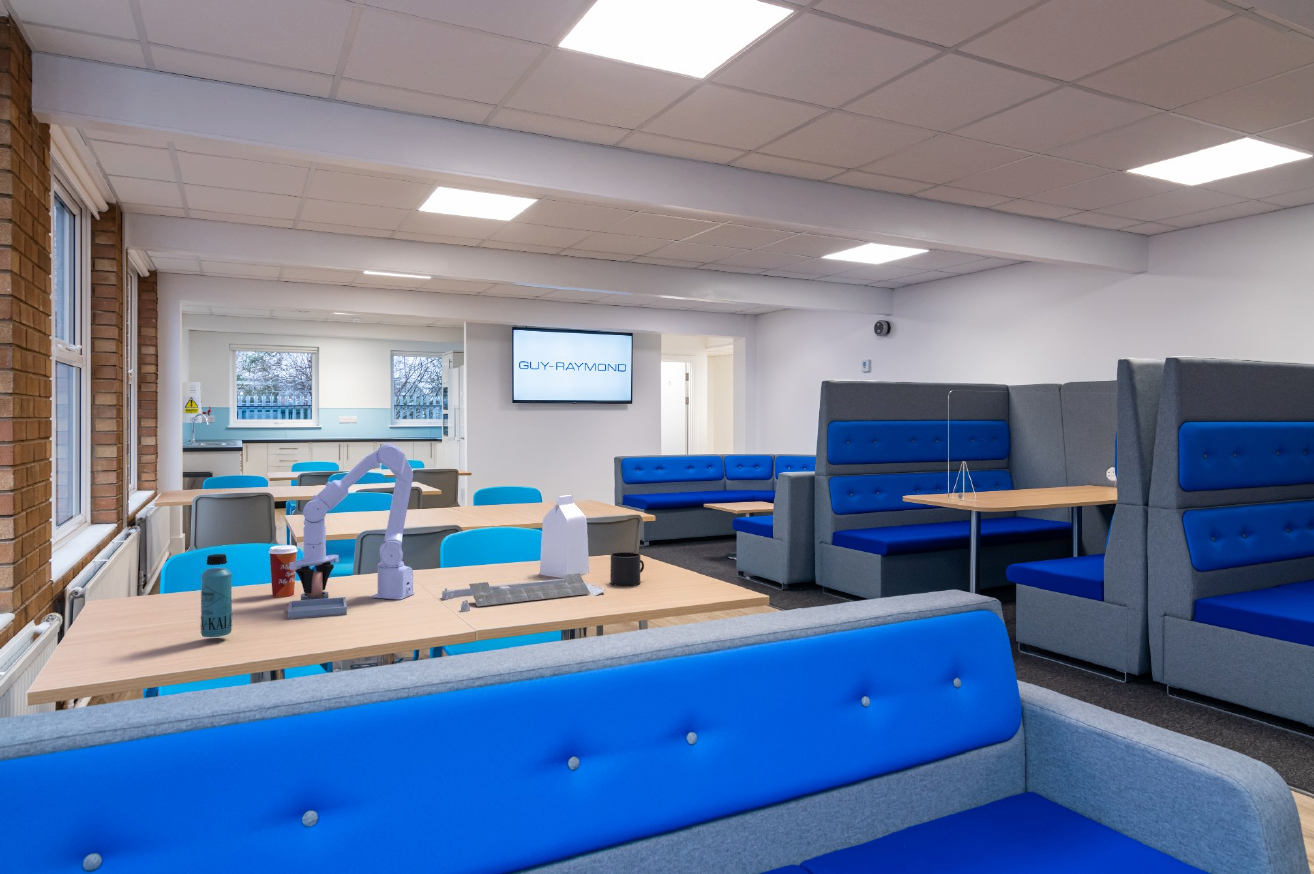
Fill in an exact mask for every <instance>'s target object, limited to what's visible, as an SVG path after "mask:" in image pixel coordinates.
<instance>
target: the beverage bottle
mask: <svg viewBox="0 0 1314 874" xmlns="http://www.w3.org/2000/svg"><path fill="white" fill-rule="evenodd" d="M206 557H207V558H206V565H208V566H220V565H226V564H227V563H228V560H227V554H225V553H216V554H209V555H207V556H206ZM200 575H201V576H200V577H201V589H200V614H201V615H200V616H199V617H200V619H199V621H200V624H199V625H200V626H199V627H200V628H199V629H200V634H201V636H202V637H204V638H218V637H224V636H229V635H230V634H231V633H232V630H233V613H232V611H233V599H232V595H233V594H232V592H233V591H232V589H233V588H232V581H233V579H232V576H233V573H232V571H231V570H230V569H228V568H226V567H213V568H207V569H205V571H203V572H202V574H200Z"/></svg>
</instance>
